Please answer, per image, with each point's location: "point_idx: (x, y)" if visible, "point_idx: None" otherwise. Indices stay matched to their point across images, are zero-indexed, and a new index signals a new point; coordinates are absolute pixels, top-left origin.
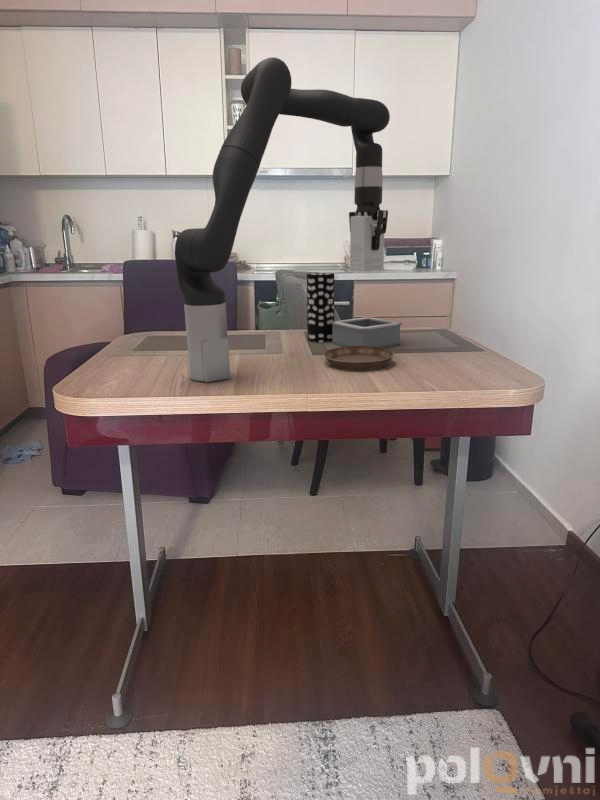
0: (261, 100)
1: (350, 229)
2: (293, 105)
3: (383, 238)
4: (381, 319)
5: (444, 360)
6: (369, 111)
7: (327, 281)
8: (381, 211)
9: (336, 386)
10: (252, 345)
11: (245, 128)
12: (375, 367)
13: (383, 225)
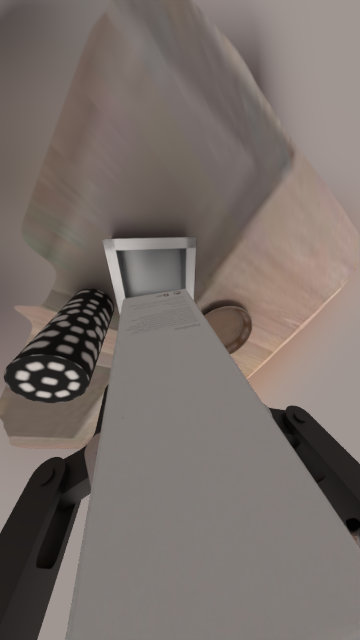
0: None
1: (52, 517)
2: None
3: (229, 359)
4: (145, 240)
5: (272, 256)
6: None
7: (92, 366)
8: None
9: (247, 365)
10: (92, 374)
11: None
12: (243, 330)
13: (323, 456)
